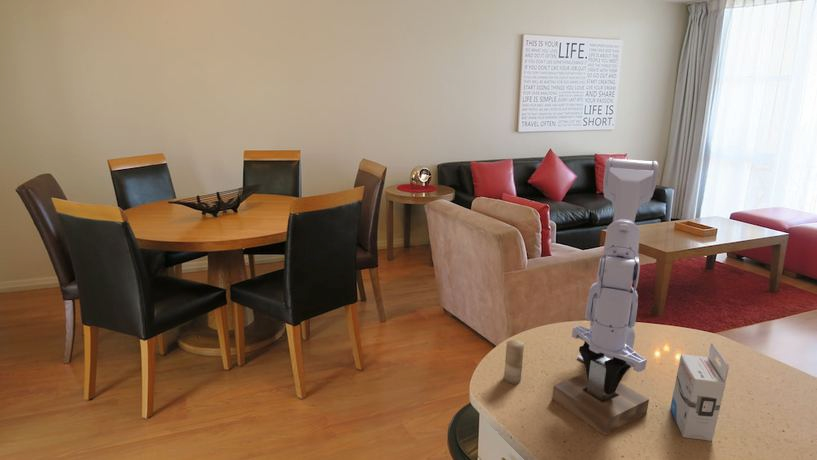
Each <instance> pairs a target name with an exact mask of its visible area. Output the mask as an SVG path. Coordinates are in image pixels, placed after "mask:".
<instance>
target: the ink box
mask: <svg viewBox="0 0 817 460" xmlns="http://www.w3.org/2000/svg"><path fill="white" fill-rule="evenodd" d="M717 359H718V360H717ZM718 361H719V362H718ZM729 366H730V365H729V363H728V362H727V361H726V360H725V357H724V356H722V353H721V352H720V351H719V349H717V347H716V346H715V344H714V343H713V342H712V343H710V347H709V352H708V357H707V356H700V355H691V354H683V353H681V354H680V359H679V364H678V368H677V374H676V379H675V384H674V389H673V393H672V398H671V403H670V410H671V412H672V415H673V418H674V419H675V422H676V424H677V426H678V428H679V431H680V432H681V435H682V437H683V438H687V439H694V440H703V441H708V442H709V441H710V442H712V441H713V439H714V435H715V430H716V426H717V422H718V419H719V414H720V410H721V404H722V400H723V397H724V392H725V388H726V383H727V378H728V374H729V369H730V367H729Z"/></svg>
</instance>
